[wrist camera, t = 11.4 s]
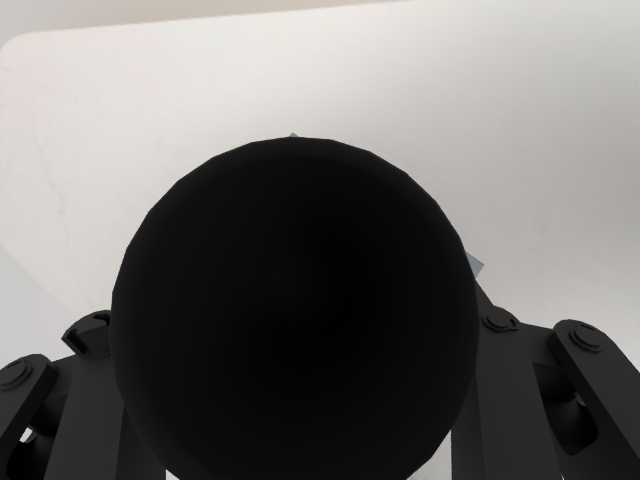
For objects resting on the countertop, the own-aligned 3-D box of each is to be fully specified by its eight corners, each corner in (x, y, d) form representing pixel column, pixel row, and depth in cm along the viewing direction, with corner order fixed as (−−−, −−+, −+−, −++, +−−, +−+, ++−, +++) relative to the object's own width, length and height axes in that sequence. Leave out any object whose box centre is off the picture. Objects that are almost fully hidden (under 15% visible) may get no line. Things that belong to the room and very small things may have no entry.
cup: (244, 349, 17) (64, 503, 5) (259, 228, 18) (142, 122, 6) (369, 360, 17) (486, 546, 5) (376, 238, 18) (482, 147, 6)
